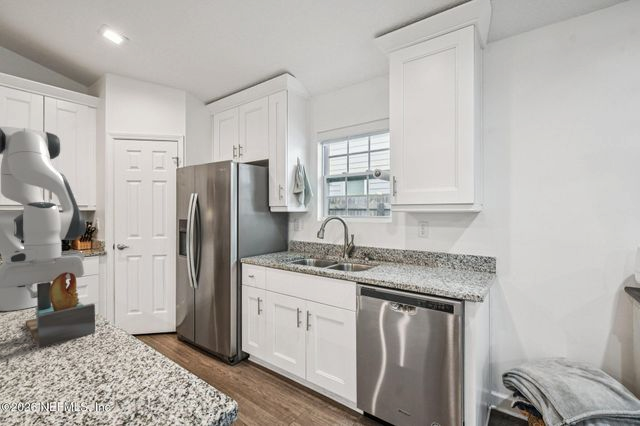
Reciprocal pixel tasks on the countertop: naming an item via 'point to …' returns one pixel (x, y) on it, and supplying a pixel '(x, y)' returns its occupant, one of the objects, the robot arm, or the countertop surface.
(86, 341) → the countertop surface
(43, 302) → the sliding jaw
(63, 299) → the crab claw
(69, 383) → the countertop surface
